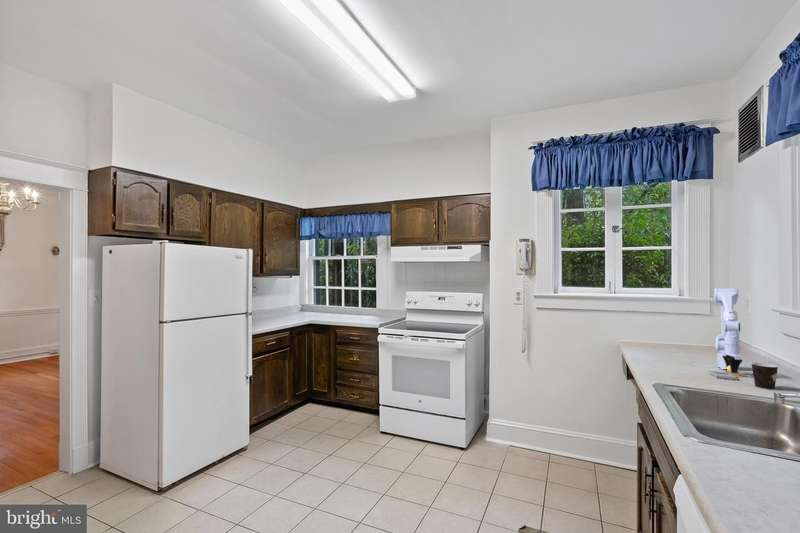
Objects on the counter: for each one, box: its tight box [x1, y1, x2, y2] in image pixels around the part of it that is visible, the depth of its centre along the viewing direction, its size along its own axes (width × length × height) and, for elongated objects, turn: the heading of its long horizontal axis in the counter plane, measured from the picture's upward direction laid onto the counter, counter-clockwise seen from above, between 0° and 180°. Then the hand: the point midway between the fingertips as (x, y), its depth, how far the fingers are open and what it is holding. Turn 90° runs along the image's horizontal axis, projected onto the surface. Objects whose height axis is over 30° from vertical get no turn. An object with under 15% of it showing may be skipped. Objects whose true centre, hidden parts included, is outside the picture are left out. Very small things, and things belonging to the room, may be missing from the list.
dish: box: [721, 370, 744, 378], centre depth 194 cm, size 8×8×1 cm
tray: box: [709, 370, 739, 381], centre depth 189 cm, size 10×8×2 cm
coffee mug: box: [751, 362, 779, 390], centre depth 172 cm, size 12×9×10 cm
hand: (732, 371), depth 194 cm, fingers closed on ball, 4 cm apart
